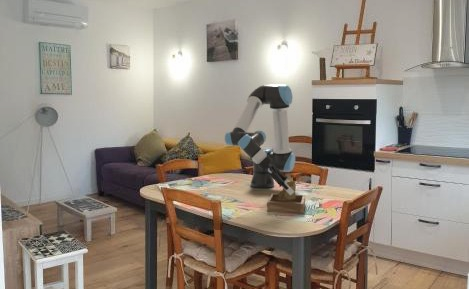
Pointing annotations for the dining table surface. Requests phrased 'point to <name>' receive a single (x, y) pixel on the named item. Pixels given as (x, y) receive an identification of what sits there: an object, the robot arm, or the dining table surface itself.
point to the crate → (286, 204)
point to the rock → (284, 194)
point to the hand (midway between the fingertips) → (293, 191)
